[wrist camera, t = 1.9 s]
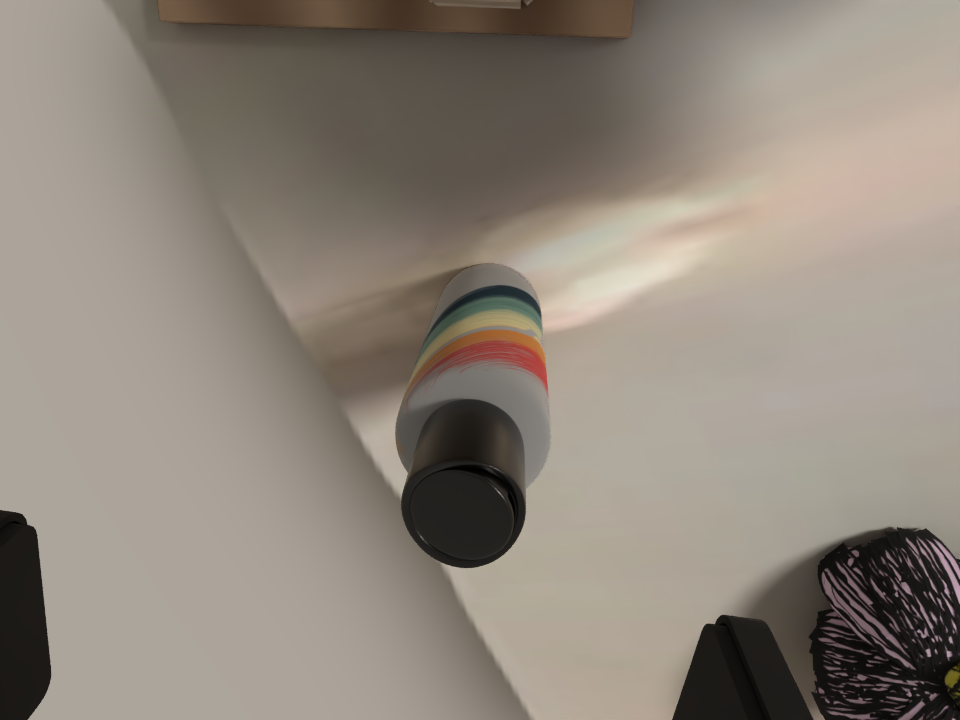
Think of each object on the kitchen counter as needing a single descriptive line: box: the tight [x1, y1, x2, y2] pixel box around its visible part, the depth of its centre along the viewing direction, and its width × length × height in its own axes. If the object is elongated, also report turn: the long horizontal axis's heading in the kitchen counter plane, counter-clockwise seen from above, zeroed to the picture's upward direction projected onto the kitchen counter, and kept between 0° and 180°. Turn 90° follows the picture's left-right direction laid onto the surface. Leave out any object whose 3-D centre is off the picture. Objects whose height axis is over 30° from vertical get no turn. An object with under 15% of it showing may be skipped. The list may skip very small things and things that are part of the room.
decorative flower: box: [809, 527, 960, 720], centre depth 41 cm, size 14×12×15 cm
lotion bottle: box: [395, 264, 551, 568], centre depth 30 cm, size 6×6×20 cm
